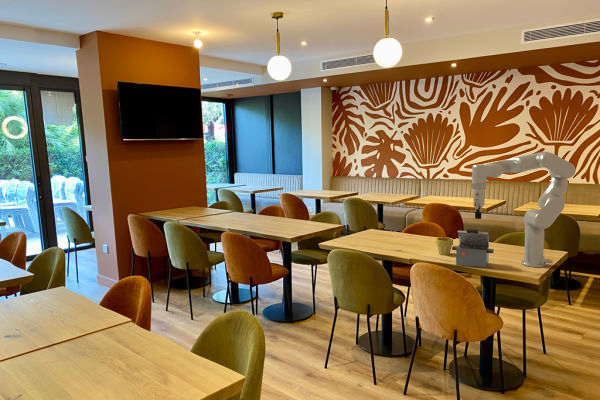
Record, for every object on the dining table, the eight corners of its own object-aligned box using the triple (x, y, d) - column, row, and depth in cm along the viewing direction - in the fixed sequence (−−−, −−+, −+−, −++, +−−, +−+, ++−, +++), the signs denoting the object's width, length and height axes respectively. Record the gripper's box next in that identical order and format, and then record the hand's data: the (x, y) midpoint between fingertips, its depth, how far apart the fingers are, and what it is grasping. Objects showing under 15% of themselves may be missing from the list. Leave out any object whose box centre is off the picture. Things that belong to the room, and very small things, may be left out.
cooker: (494, 263, 251) (494, 246, 250) (491, 268, 240) (492, 251, 239) (454, 259, 262) (454, 243, 260) (450, 264, 251) (450, 247, 250)
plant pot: (454, 256, 270) (454, 240, 269) (436, 255, 272) (437, 240, 271) (451, 252, 280) (452, 237, 279) (435, 251, 282) (435, 237, 281)
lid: (488, 246, 251) (489, 241, 253) (487, 232, 242) (487, 227, 243) (459, 243, 259) (460, 239, 261) (457, 230, 250) (458, 226, 251)
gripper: (484, 187, 235) (483, 221, 237) (487, 185, 248) (486, 217, 250) (469, 187, 239) (469, 220, 241) (473, 185, 252) (473, 216, 254)
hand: (478, 218), depth 246 cm, fingers closed
